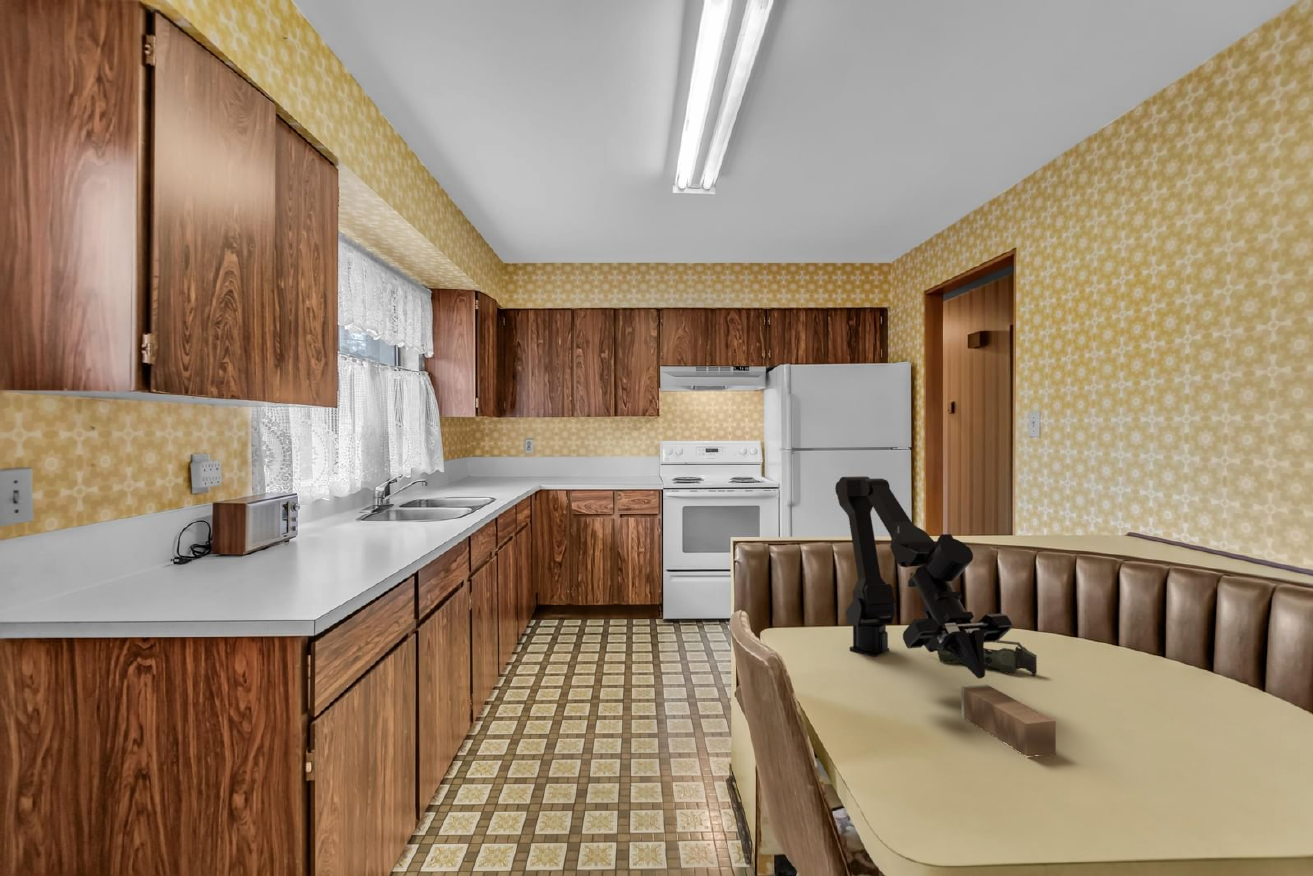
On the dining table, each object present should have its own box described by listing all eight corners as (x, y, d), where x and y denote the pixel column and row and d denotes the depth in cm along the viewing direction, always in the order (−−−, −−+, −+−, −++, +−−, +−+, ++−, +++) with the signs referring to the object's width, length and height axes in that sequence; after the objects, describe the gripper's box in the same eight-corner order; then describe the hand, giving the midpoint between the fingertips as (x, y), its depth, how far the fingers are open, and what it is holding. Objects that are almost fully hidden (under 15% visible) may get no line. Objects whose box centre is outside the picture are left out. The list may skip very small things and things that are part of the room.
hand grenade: (940, 656, 134) (1037, 673, 124) (936, 663, 130) (1036, 681, 120) (940, 627, 134) (1036, 642, 124) (936, 633, 130) (1035, 649, 120)
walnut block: (961, 687, 104) (1026, 724, 90) (987, 684, 105) (1055, 720, 91) (961, 716, 104) (1027, 758, 90) (987, 714, 105) (1055, 754, 91)
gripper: (961, 615, 121) (1004, 693, 110) (876, 620, 117) (911, 702, 106) (990, 584, 113) (1039, 664, 102) (900, 589, 110) (941, 673, 99)
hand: (981, 677), depth 103 cm, fingers closed
